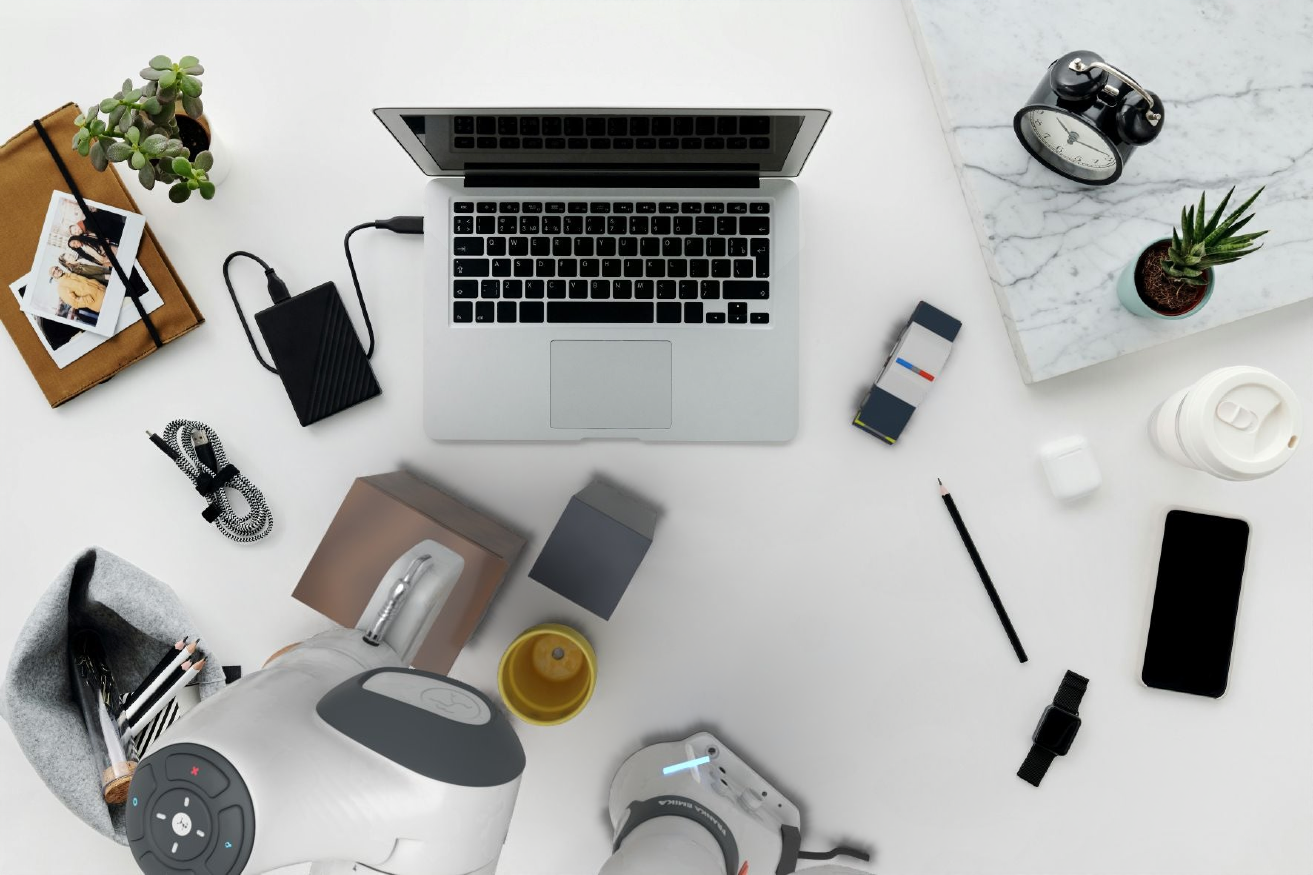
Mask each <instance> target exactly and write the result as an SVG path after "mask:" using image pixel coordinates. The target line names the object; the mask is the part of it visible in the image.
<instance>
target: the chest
mask: <svg viewBox="0 0 1313 875" xmlns="http://www.w3.org/2000/svg"><path fill="white" fill-rule="evenodd" d="M359 477H360V478H362V479H364V480H366V481H367V482H369V483H371V484H373V485H374V486H376V487H378V488H380V489H381V490H383V491H385V492H387V493H388V494H390V495H392V496H394V497H395V498H397V499H399V500H401V501H402V502H404V503H406V504H408V505H409V506H411V507H413V508H415V509H416V510H418V511H420V512H422V513H423V514H425V515H427V516H429V517H430V518H432V519H434V520H435V521H437V522H439V523H441V524H442V525H444V526H446V527H448V528H449V529H451V530H453V531H455V532H456V533H458V534H460V535H462V536H463V537H465V538H467V539H469V540H470V541H472V542H474V543H476V544H477V545H479V546H481V547H483V548H484V549H486V550H488V551H490V552H491V553H493V554H495V555H497V556H498V557H500V558H502V559H504V560H505V561H507V562H509V563H510V564H509V566H508V568H507V569H506V571H505V573H504V575H503V577H502V578H501V580H500V582H499V584H498V586H497V587H496V589H495V591H494V593H493V595H492V596H491V598H490V600H489V602H488V604H487V605H486V607H485V609H484V611H483V613H482V614H481V616H480V618H479V620H478V621H477V623H476V625H475V627H474V629H473V630H472V632H471V634H470V636H469V638H468V639H467V641H466V643H465V645H464V647H463V648H462V650H463V649H464V648H465V647H466V646H467V645H468V644H469V643H470V641H472V639H473V638H474V636H475V634H476V632H477V630H478V629H479V627H480V625H481V624H482V621H483V619H484V618H485V615H486V614H487V612H488V610H489V608H491V606H492V604H493V603H494V600H495V599H496V596H497V595H498V593H499V591H500V589H501V587H502V585H503V584H504V582H505V580H506V579H507V576H508V575H509V573H510V571H511V569H512V567H513V566H514V564H515V562H516V560H517V559H518V557H519V555H520V553H521V551H522V550H523V548H524V546H525V544H526V542H527V541H528V539H527V538H526V537H524V536H522V535H520V534H519V533H517V532H515V531H513V530H512V529H510V528H508V527H507V526H504V525H503V524H501V523H499V522H497V521H496V520H494V519H492V518H490V517H488V516H487V515H485V514H484V513H481V512H480V511H478V510H476V509H474V508H472V507H470V506H468V505H467V504H465V503H463V502H462V501H460V500H458V499H456V498H455V497H453V496H451V495H450V494H448V493H446V492H444V491H442V490H441V489H438V488H437V487H435V486H433V485H432V484H430V483H428V482H426V481H424V480H422V479H421V478H419V477H417V476H415V475H413V474H411V473H410V472H408V471H407V470H399V471H398V470H397V471H392V472H385V473H379V474H378V473H377V474H373V475H372V474H371V475H365V476H359Z"/></svg>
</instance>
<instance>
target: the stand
mask: <svg viewBox="0 0 1313 875" xmlns="http://www.w3.org/2000/svg"><path fill="white" fill-rule="evenodd" d="M656 519H657V512H656V511H655V510H654V509H652V508H650V507H648V506H646V505H644V504H642V503H641V502H639V501H637V500H636V499H634V498H632V497H631V496H628V495H627V494H625V493H623V492H621V491H619V489H616V488H614V487H612V486H611V485H609V484H607V483H606V482H604V481H602V480H600V479H597V478H596V479H594V481H592V482H591V483H589V484H588V485H587V486H585V487H584V488H582V489H581V490H579V491H578V492H576V493H575V494H573V495H572V496H571V497H570V499H569V501H568V503H567V504H566V506H565V508H564V510H563V512H562V513H561V515H560V517H559V519H558V521H557V522H556V524H555V526H554V528H553V529H552V531H551V533H550V535H549V537H548V538H547V540H546V542H545V544H544V545H543V547H542V549H541V551H540V552H539V555H538V557H537V559H536V560H535V562H534V563H533V565H532V567H531V568H530V571H529V572H528V574H527V577H528V578H529V579H531V580H533V581H535V582H537V583H538V584H540V585H541V586H544V587H545V588H547V589H549V590H551V591H552V592H554V593H556V594H558V595H559V596H561V597H563V598H565V599H567V600H568V601H570V602H572V603H574V604H576V605H577V606H579V607H581V608H583V609H584V610H586V611H588V612H590V613H592V614H593V615H595V616H597V617H598V618H600V619H603V620H604V621H606V622H609V621H610V619H611V617H612V615H613V614H614V611H615V610H616V608H617V607H618V604H619V603H620V601H621V599H622V598H623V596H624V594H625V592H626V590H627V589H628V586H629V585H630V583H631V581H632V579H633V578H634V576H635V574H636V572H637V570H638V569H639V567H640V565H641V564H642V562H643V560H644V558H645V556H646V555H647V552H648V551H649V549H650V548H651V546H652V544H653V542H654V534H655V527H656V526H655V525H656V521H657V520H656Z"/></svg>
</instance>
